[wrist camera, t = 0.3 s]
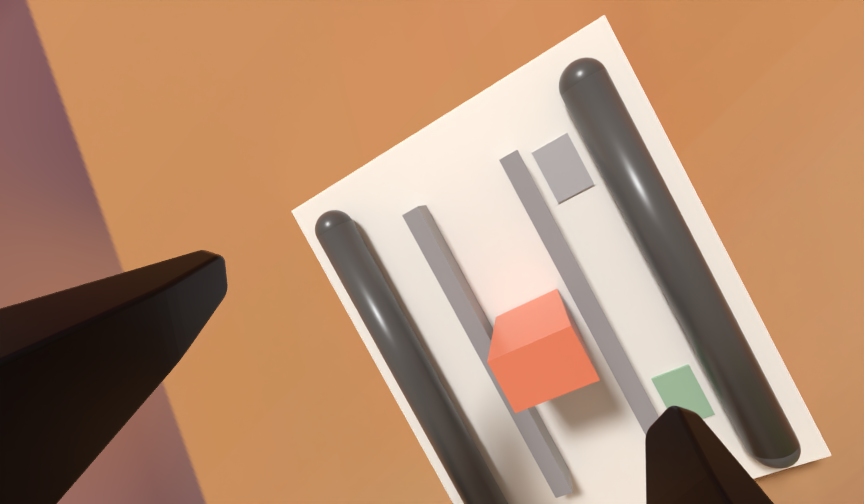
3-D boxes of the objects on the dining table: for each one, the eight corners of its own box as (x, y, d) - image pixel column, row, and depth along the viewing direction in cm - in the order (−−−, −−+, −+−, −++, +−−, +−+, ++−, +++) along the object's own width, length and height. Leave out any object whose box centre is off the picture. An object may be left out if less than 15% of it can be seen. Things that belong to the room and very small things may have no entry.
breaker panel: (792, 421, 19) (868, 486, 15) (487, 519, 23) (480, 592, 19) (593, 37, 18) (614, -7, 14) (315, 208, 22) (269, 213, 18)
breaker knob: (578, 328, 18) (600, 380, 13) (516, 355, 19) (515, 413, 14) (556, 288, 18) (570, 325, 13) (495, 316, 19) (487, 362, 14)
